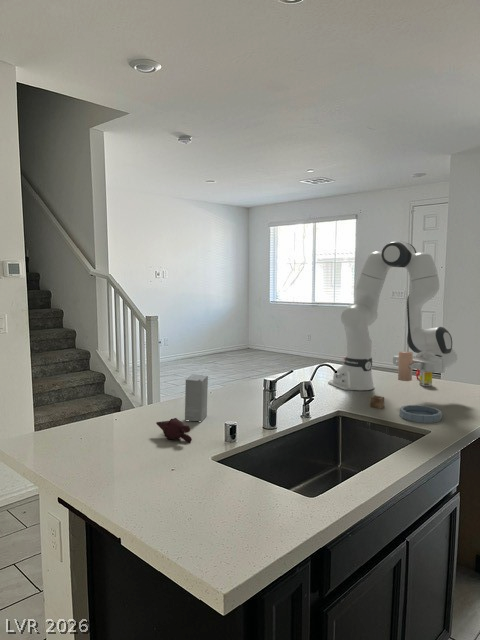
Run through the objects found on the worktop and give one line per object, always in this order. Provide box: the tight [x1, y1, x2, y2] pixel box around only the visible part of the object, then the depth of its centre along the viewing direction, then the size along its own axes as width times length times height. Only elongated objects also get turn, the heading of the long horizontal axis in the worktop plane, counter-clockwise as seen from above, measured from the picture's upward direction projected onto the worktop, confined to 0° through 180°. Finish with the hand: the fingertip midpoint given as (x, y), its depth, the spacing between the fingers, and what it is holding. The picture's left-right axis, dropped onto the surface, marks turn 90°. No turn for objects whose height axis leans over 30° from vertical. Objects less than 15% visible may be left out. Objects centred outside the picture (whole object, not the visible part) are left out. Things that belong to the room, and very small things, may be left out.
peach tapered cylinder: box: [397, 350, 414, 382], centre depth 187 cm, size 5×5×11 cm
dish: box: [399, 404, 443, 424], centre depth 174 cm, size 14×14×2 cm
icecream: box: [155, 417, 193, 443], centre depth 152 cm, size 7×7×15 cm
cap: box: [415, 369, 420, 380], centre depth 237 cm, size 8×6×6 cm
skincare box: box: [184, 373, 209, 422], centre depth 172 cm, size 8×7×16 cm
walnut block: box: [370, 395, 385, 410], centre depth 187 cm, size 4×4×4 cm
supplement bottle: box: [419, 371, 433, 387], centre depth 224 cm, size 6×6×10 cm
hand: (403, 364), depth 187 cm, fingers closed on peach tapered cylinder, 5 cm apart
